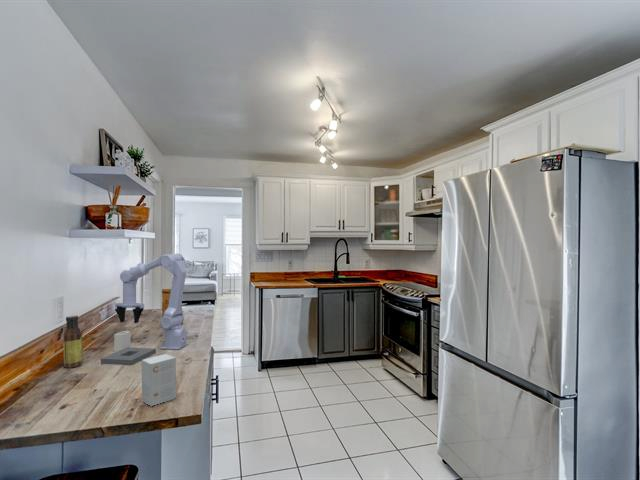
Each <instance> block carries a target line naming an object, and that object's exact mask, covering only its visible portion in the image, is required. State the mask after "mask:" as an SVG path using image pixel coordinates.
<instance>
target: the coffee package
mask: <svg viewBox="0 0 640 480" xmlns="http://www.w3.org/2000/svg"><path fill="white" fill-rule="evenodd" d="M170 293H171V288H162V289H161V311H162V313H161V318H162V317H163V315H164V312H165V311H166V310H167V308H168V305H169V299H170ZM181 309H182V310H183V308H182V307H181Z"/></svg>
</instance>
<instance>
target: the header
mask: <svg viewBox="0 0 640 480" xmlns="http://www.w3.org/2000/svg"><path fill="white" fill-rule="evenodd" d="M155 354H157V349H156V348H151V347H131V346H130V347H127V348H125V349H122V350H120V351H118V352H113V353H111V354H108V355H105V356H104V357H102V358H100V365H102V364H103V365H104V364H105V365H118V366H119V365H121V366H133V365H135V364H137V363H139V362H142V360H144V359H148V358H150V357H151V356H153V355H155Z"/></svg>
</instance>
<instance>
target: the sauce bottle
mask: <svg viewBox="0 0 640 480" xmlns="http://www.w3.org/2000/svg"><path fill="white" fill-rule="evenodd" d="M65 320H66V329H65V331H64V333H63V336H62V338H63V341H62V343H63V345H62V347H63V350H62V351H63V366H64V368H68V369H69V368H70V369H71V368H76V367H80V366H82V364H83V359H84V358H83V356H84V355H83V334H82V332H81V330H80V328H79V321H78V320H79V316H78V315H75V314H74V315H69V316H66V317H65Z"/></svg>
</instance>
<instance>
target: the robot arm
mask: <svg viewBox="0 0 640 480" xmlns="http://www.w3.org/2000/svg"><path fill="white" fill-rule="evenodd" d="M184 257H185V256H183V255H182V254H181V253H173V254H172V253H165V254H163V255H159V256H158V257H156V258H155V259H153V260H151V261H149V262H148V263H143V262H142V263H137V265H136V266H134V267H130V268H129V269H125V270H124V269H123V271H121V273H120V276H119V279H120V280H121V282H122V302H117V303H114V311H115V312H116V314H117V316H118V319H119V322H120V323H125V320H126V310H127V309H129V308H131V309H132V312H133V321H134V322H133V323H134V324H137V323H139V322H140V318H141V315H142V313H143V312H144V309H145V303H140V302H137V284H138V280H139V279H140V278H142V277H144V276H146V275H148V274H149V272H150V271H151V270H153V269H155V268H158V267H160V266H162V267H163V268H164V269H166V270H167V271H169V272H170V273H171V274H172V281H171V288H170V289H171V293H170V299H169V305H168V308H167V310H166V311H165V312H164V315H163V317H162V316H161V320H160V326H161V327H162V328H163V330H164V331H163V333H164V334H163V335H164V336H163V339H164V340H163V346H161V347H160V348H159V349H163V350H181V349H182V348H184V347H186V346H188V343H187V337H188V336H187V329H186V328H182V324H184V321H185V317H184V310H183V308H182V301H183V294H184V288H185V283H186V276H187V269H186V266H185V265H186V263H185V262H186V259H185V258H184ZM181 308H182V309H181Z"/></svg>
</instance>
